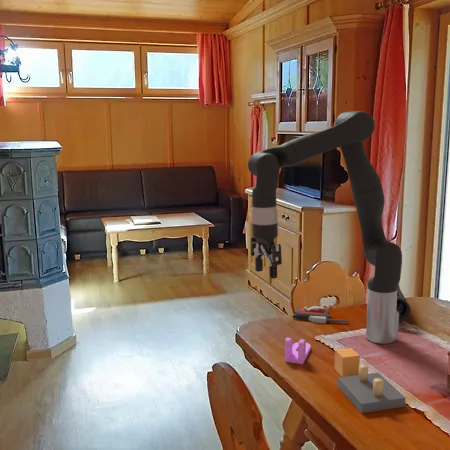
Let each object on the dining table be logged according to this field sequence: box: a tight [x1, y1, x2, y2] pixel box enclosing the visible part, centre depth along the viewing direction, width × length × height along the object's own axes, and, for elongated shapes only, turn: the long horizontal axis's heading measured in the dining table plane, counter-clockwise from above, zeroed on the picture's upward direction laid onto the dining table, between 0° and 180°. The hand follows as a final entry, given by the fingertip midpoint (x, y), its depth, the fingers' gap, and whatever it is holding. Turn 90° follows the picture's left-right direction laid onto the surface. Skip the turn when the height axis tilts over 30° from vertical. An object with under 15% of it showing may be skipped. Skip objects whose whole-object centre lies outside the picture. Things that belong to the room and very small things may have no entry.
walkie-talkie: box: [292, 305, 350, 324], centre depth 193 cm, size 9×4×20 cm
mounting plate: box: [337, 363, 407, 414], centre depth 139 cm, size 12×14×6 cm
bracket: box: [284, 337, 312, 365], centre depth 164 cm, size 13×6×7 cm, turn 158°
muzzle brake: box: [396, 284, 411, 323], centre depth 199 cm, size 10×28×10 cm, turn 172°
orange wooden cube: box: [334, 347, 361, 377], centre depth 152 cm, size 5×5×6 cm
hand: (266, 274), depth 158 cm, fingers open, 8 cm apart
